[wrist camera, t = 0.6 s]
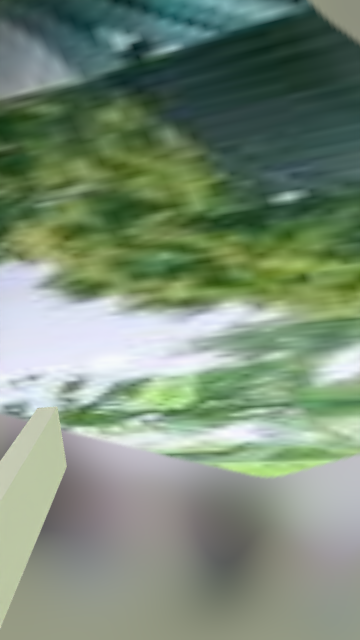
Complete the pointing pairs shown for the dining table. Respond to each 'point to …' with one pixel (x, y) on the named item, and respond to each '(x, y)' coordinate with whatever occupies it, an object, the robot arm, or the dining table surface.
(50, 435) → the robot arm
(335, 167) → the dining table surface
